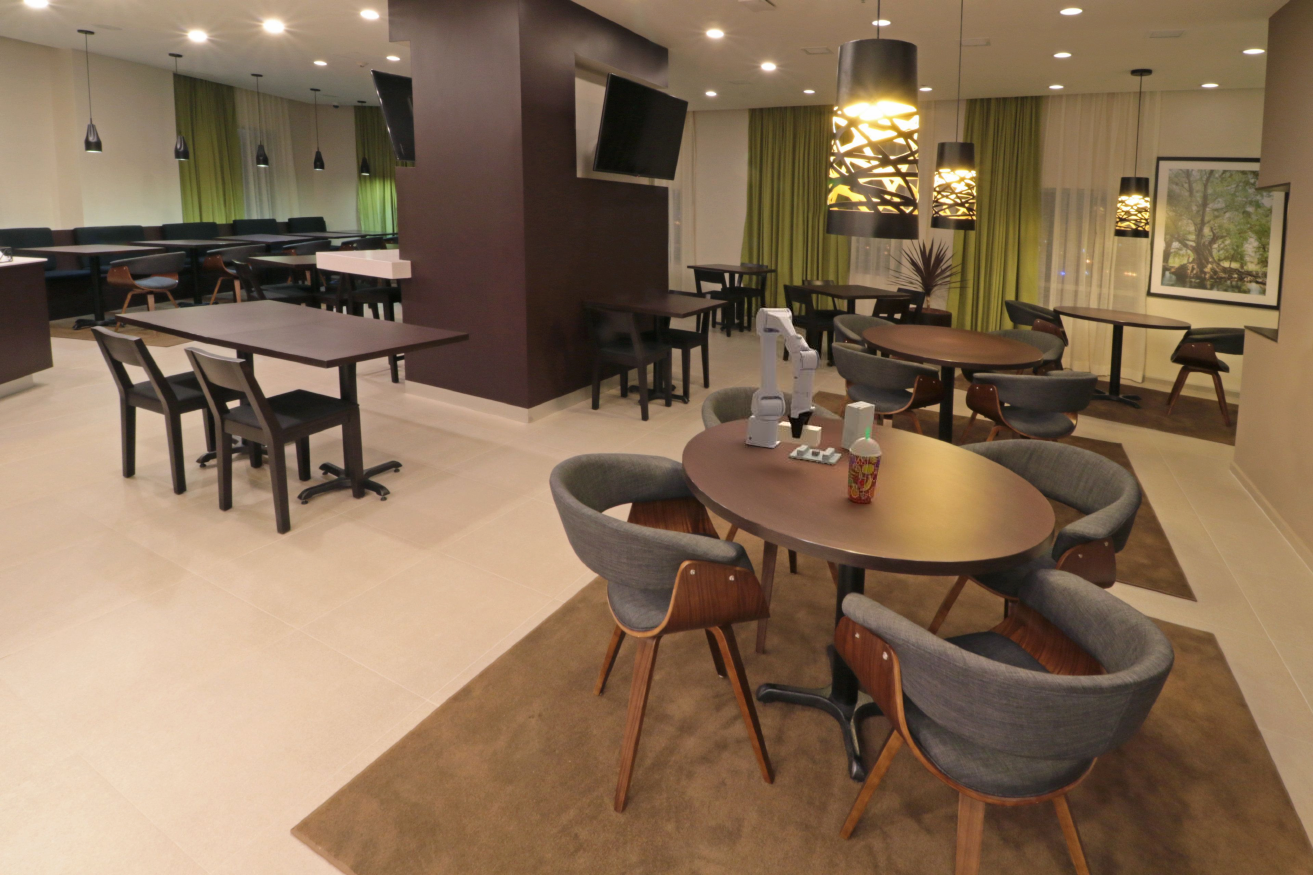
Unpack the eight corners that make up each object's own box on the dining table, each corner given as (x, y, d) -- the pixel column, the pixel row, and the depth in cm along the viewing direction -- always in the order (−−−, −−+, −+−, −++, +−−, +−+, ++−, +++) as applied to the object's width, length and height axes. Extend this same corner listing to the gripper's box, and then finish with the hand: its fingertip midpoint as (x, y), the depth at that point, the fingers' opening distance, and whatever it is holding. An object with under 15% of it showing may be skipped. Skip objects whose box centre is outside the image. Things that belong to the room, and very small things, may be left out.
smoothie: (839, 494, 216) (847, 423, 210) (869, 494, 216) (878, 424, 211) (849, 505, 208) (858, 432, 202) (880, 505, 208) (889, 432, 203)
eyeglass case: (776, 440, 236) (778, 424, 235) (781, 437, 240) (782, 421, 239) (816, 447, 231) (817, 430, 230) (819, 443, 235) (821, 427, 234)
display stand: (789, 457, 245) (789, 449, 245) (797, 449, 254) (798, 441, 253) (833, 465, 240) (834, 457, 239) (841, 456, 249) (842, 448, 248)
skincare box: (856, 443, 263) (861, 400, 259) (871, 448, 259) (876, 404, 254) (840, 447, 258) (844, 403, 254) (855, 452, 253) (860, 407, 249)
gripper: (809, 398, 223) (805, 444, 227) (822, 388, 236) (817, 432, 240) (785, 394, 226) (781, 440, 230) (799, 385, 239) (795, 428, 243)
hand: (798, 435), depth 235 cm, fingers closed on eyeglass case, 4 cm apart
